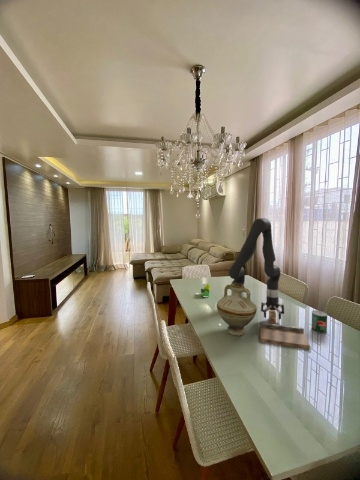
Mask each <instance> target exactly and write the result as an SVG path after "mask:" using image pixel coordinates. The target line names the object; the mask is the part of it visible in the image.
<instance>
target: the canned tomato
mask: <svg viewBox="0 0 360 480" xmlns="http://www.w3.org/2000/svg"><path fill="white" fill-rule="evenodd" d="M311 330H312V331H313V332H314V333H316V332H317V333H316V334H320V333H321V334H322V335H323V334H327V332H328V313H327V312H325V311H323V310H312V311H311ZM321 334H320V335H321Z"/></svg>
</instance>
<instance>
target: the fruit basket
mask: <svg viewBox="0 0 360 480" xmlns="http://www.w3.org/2000/svg"><path fill="white" fill-rule="evenodd" d="M210 290H211V285H210V284H209V283H207V284H206V285H204V288H200V293H201V294H200V295H201V297H202V296H208V297H209V296H210Z"/></svg>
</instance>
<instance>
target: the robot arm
mask: <svg viewBox="0 0 360 480" xmlns="http://www.w3.org/2000/svg"><path fill="white" fill-rule="evenodd" d="M272 232H273V231H272V223H271V220H269V218H265V217H264V218H263V217H262V218H256V219H254V221H253V223H252V225H251V227H250V230H249V233H248V235H247V237H246V239H245V241H244V243H243V244H242V246H241V248H240V251H239V253H238V255H237V256H236V259H235V261H234V262H233V263H232V265H231V266H230V268H229V271H228V275H229V277H230V279H232V280H233V281H231V283H230V285H231V284H233V283H237V284H242V285H244V286H245V279H246V277H245V276H246V272H245V268H244V266H245V265H246V263H248V262H249V261H250V260H251V259H252V257H253V256H254V254H255V253H256V250H257V243H258V239H259V237H260V235H261V233H262V239H263V240H262V241H263V242H262V255H263V260H264V262H263V264H264V268H263V269H264V270H263V271H264V273H265V275H266V277H269V278H268V279H267V281H266V290H265V291H266V292H265V294H266V297H265V298H266V299H265V300H266V301H265V302H263V301H261V305H260V312H261V313H262V312H263V318H264V319H267V313H268V312H269V310H275V311H276V313H278V316H277V317H278V321H280V320H281V319H282V315H284V314H285V306H284V304H283V303H281V304H280V303H279V302H280V301H279V298H280V296H279V295H280V292H279V281H280V278H281V268H280V267H279V266H278V265H276V264H274V263H275V261H276V256H275V255H276V253H275V249H274V244H273V237H272ZM230 291H231V292H230V295H232V294H233V291H232V290H231V289H230ZM244 293H245V292H242V293H241V295H242V296H244ZM244 297H245V296H244ZM265 306H266V307H265ZM264 307H265V308H264ZM279 307H280V309H281V310H280V309H279Z"/></svg>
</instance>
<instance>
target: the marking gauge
mask: <svg viewBox="0 0 360 480" xmlns="http://www.w3.org/2000/svg"><path fill="white" fill-rule="evenodd" d="M268 322H269V323H268V324H276V325H277V311H276V310H268Z"/></svg>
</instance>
